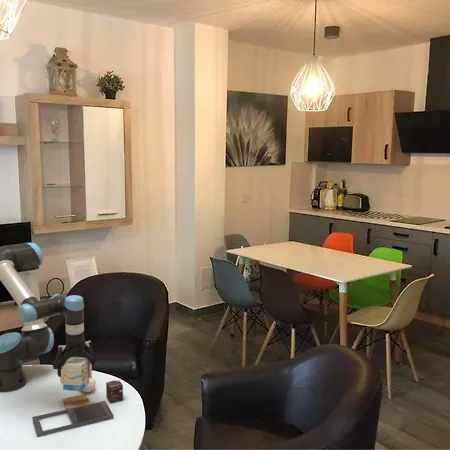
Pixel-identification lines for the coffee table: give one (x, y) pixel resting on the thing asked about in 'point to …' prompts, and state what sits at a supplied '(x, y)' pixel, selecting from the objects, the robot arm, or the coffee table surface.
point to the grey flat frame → (76, 417)
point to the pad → (76, 401)
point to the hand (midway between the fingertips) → (76, 380)
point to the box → (114, 391)
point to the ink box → (75, 374)
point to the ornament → (90, 385)
